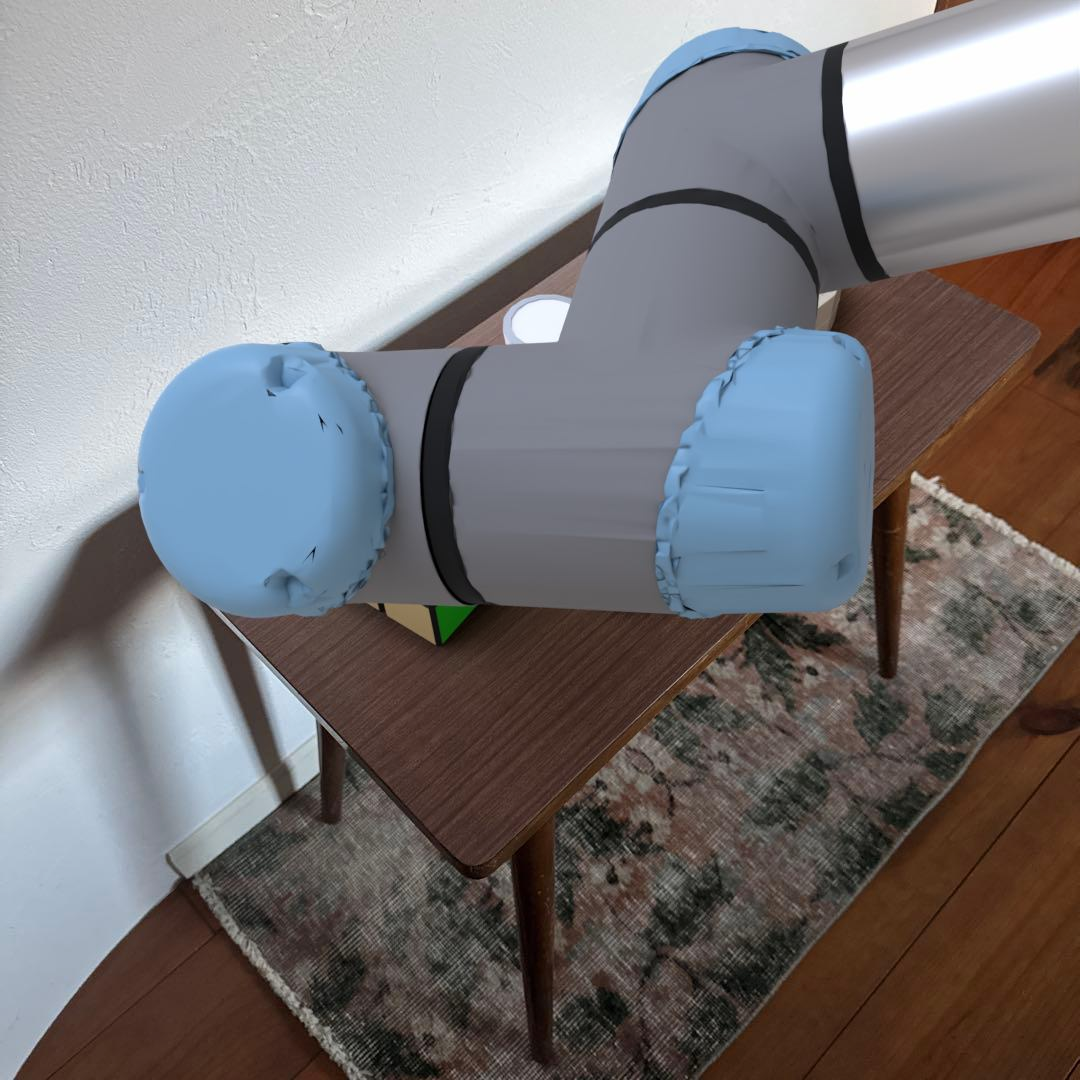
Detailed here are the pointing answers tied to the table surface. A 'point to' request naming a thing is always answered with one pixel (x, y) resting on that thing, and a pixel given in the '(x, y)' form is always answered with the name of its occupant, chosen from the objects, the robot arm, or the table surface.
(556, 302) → the white cup
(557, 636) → the table surface
